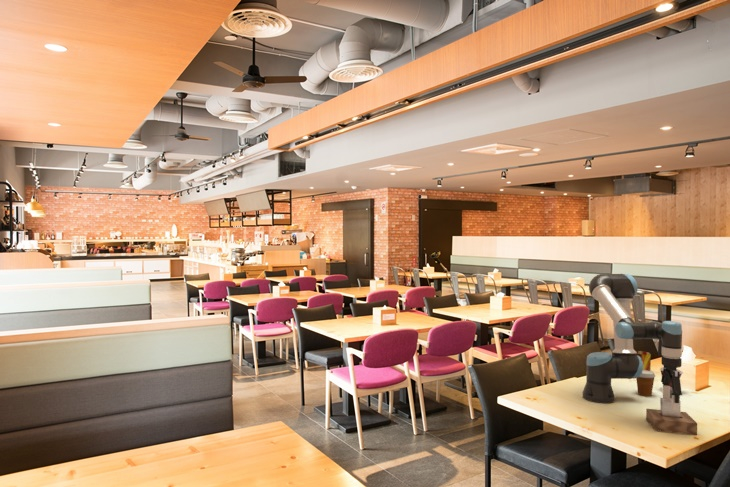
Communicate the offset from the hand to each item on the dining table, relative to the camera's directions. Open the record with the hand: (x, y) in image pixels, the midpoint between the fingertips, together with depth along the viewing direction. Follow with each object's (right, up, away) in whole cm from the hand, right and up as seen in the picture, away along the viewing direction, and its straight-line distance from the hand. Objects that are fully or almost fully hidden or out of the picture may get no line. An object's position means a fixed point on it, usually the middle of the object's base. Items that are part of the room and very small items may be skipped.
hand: (670, 404), depth 220 cm
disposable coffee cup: (+14, -9, +46) cm, 49 cm away
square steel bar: (+10, -10, +17) cm, 22 cm away
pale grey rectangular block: (0, -10, 0) cm, 10 cm away
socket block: (0, -10, 0) cm, 10 cm away
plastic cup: (+32, -10, +51) cm, 61 cm away
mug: (+36, -9, +89) cm, 97 cm away
